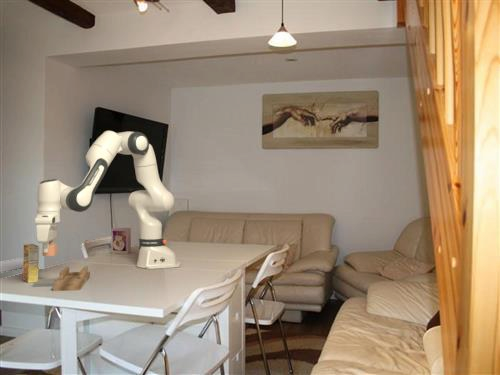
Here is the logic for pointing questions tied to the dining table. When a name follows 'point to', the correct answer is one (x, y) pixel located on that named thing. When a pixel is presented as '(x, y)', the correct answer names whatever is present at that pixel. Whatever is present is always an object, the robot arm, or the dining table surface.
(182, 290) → the dining table surface
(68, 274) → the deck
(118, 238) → the greeting card
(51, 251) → the block
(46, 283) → the trivet
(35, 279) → the candy box
